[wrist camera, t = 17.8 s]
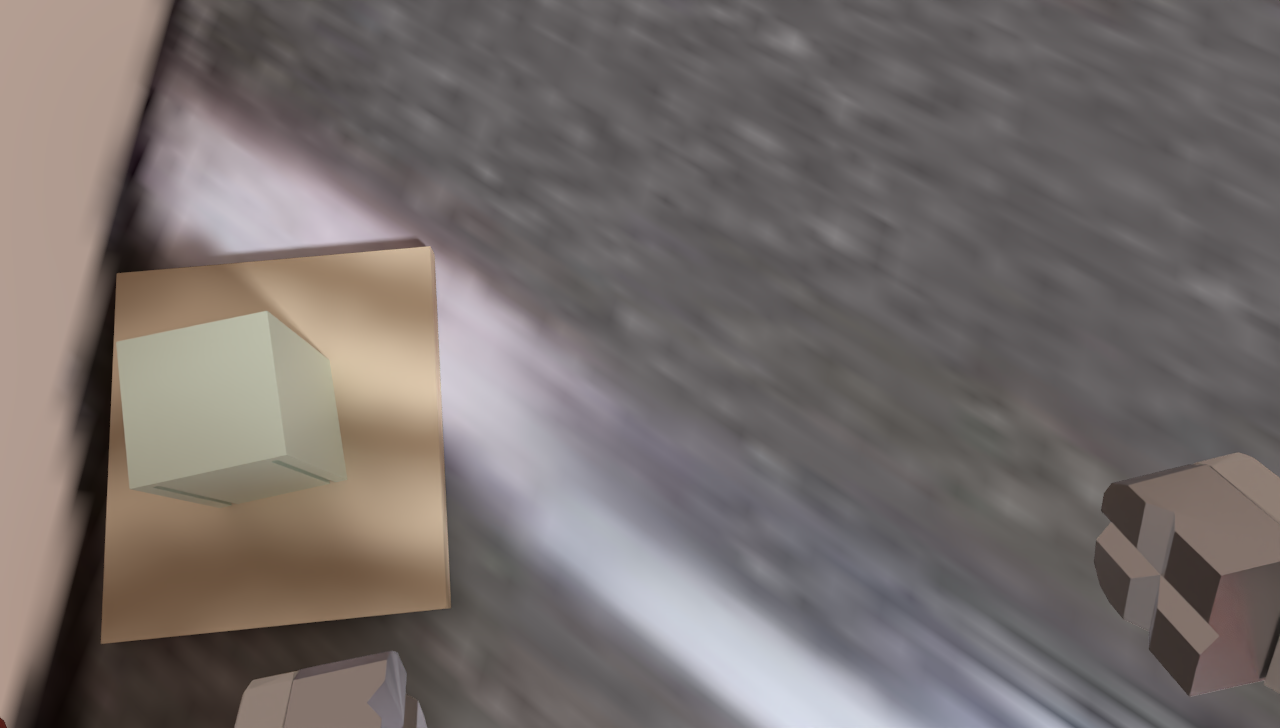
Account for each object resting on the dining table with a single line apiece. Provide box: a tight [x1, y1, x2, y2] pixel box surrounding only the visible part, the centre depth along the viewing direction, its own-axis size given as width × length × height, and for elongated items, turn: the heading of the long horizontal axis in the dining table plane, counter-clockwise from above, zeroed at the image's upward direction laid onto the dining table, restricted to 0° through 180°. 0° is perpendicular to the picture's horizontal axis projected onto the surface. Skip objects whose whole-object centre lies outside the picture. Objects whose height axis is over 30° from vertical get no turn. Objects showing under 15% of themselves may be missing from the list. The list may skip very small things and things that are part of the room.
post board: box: [101, 246, 451, 644], centre depth 37 cm, size 16×14×6 cm
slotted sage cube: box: [116, 311, 347, 508], centre depth 36 cm, size 5×5×7 cm
